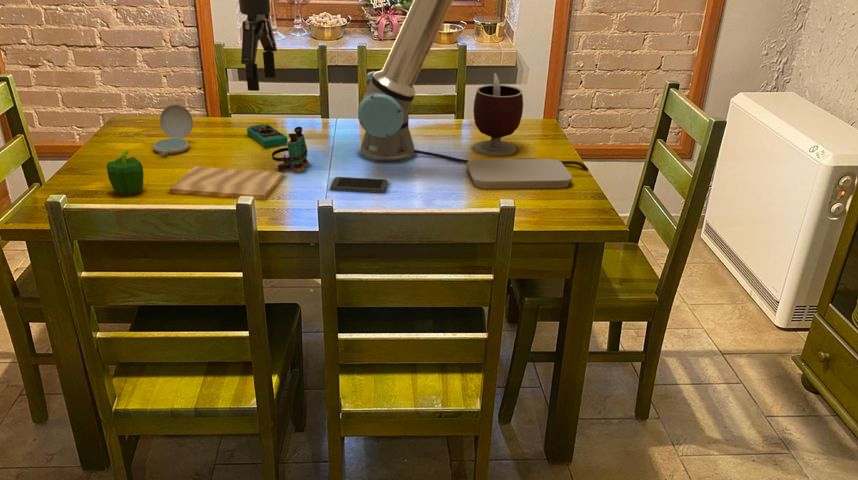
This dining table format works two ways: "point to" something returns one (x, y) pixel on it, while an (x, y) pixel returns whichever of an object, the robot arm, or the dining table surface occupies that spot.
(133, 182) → the bell pepper
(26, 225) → the dining table surface
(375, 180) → the cell phone
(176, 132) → the grey compact mirror
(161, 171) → the dining table surface
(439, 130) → the dining table surface
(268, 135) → the digital multimeter
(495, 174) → the tablet
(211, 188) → the serving board
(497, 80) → the mate gourd
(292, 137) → the binoculars
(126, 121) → the dining table surface
